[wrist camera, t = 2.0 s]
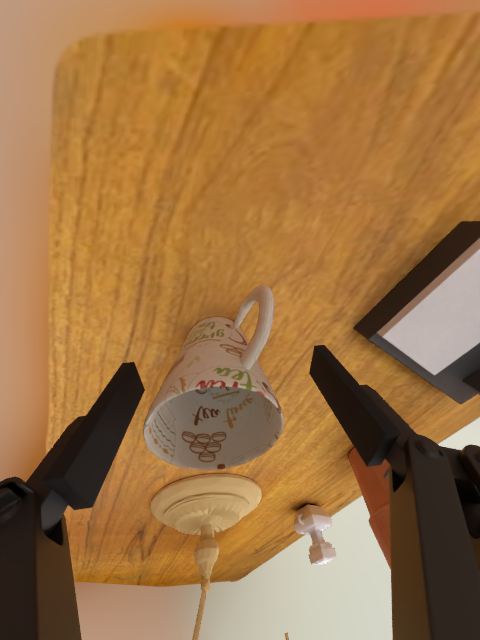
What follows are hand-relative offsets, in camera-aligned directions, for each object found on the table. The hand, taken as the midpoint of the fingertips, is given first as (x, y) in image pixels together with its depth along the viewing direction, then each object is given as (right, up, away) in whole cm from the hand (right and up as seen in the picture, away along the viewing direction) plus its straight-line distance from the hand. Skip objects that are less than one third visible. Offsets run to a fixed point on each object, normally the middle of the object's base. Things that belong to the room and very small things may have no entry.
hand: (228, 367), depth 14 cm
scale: (+27, +2, +9) cm, 29 cm away
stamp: (+18, -43, +32) cm, 57 cm away
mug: (-1, +3, +5) cm, 6 cm away
